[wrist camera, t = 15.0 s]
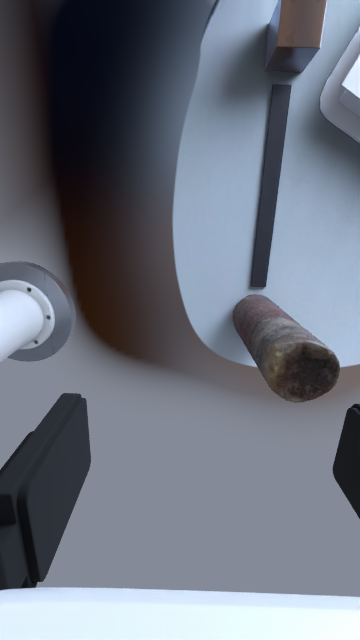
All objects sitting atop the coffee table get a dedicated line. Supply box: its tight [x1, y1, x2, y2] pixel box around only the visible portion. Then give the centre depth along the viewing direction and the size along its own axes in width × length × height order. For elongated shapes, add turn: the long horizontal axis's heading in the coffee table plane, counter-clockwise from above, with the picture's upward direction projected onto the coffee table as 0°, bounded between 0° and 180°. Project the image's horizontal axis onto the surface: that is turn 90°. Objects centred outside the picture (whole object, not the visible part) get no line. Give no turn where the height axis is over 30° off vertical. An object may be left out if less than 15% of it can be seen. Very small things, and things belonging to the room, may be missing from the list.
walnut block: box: [265, 0, 327, 72], centre depth 33 cm, size 5×5×5 cm
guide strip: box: [251, 84, 291, 287], centre depth 41 cm, size 2×27×1 cm, turn 178°
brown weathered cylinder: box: [233, 294, 340, 403], centre depth 37 cm, size 8×7×20 cm
